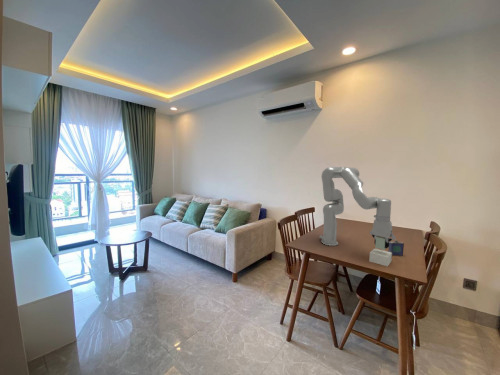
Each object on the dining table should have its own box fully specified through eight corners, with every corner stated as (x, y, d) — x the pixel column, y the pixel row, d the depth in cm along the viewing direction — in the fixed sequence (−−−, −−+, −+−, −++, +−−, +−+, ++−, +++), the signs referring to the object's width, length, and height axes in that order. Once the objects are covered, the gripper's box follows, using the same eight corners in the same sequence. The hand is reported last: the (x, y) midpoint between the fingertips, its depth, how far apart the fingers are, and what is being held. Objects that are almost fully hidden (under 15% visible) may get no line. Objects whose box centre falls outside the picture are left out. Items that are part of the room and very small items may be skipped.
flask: (389, 255, 143) (390, 240, 142) (387, 253, 146) (387, 238, 145) (403, 256, 142) (405, 240, 141) (401, 254, 145) (402, 239, 144)
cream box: (369, 261, 134) (369, 252, 134) (373, 257, 141) (374, 248, 141) (387, 266, 127) (388, 257, 127) (391, 261, 134) (391, 252, 134)
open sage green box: (375, 247, 134) (375, 235, 133) (378, 245, 137) (379, 234, 136) (384, 249, 130) (384, 237, 129) (387, 248, 133) (388, 236, 132)
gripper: (366, 216, 136) (364, 244, 138) (396, 222, 123) (394, 252, 124) (371, 215, 141) (369, 241, 142) (401, 220, 127) (399, 249, 129)
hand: (381, 246), depth 133 cm, fingers closed on open sage green box, 5 cm apart
